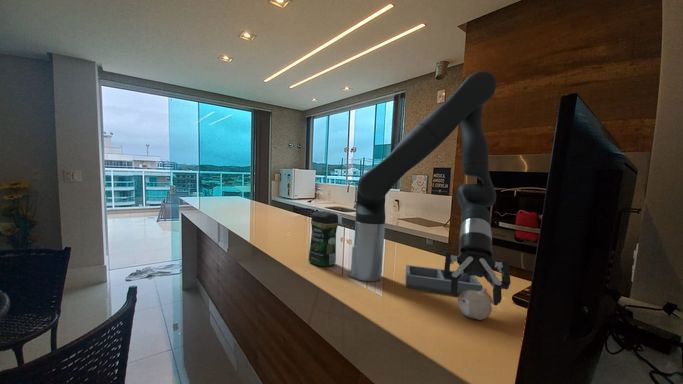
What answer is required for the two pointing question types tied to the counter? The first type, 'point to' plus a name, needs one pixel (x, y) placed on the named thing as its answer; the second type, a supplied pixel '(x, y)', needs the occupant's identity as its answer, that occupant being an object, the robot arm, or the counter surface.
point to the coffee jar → (323, 238)
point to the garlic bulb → (475, 304)
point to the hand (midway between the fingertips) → (475, 299)
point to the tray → (438, 280)
